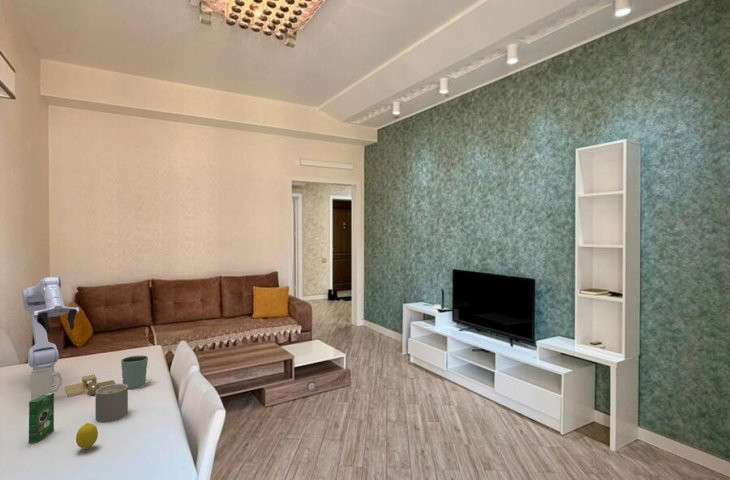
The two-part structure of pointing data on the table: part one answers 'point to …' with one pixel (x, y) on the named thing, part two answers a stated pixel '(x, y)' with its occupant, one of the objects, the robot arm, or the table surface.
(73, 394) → the brass leaf
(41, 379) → the mug
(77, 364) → the table surface
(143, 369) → the teal cup
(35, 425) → the coffee box
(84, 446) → the lemon
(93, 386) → the bronze leaf with pin
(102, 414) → the coffee mug
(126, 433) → the table surface
